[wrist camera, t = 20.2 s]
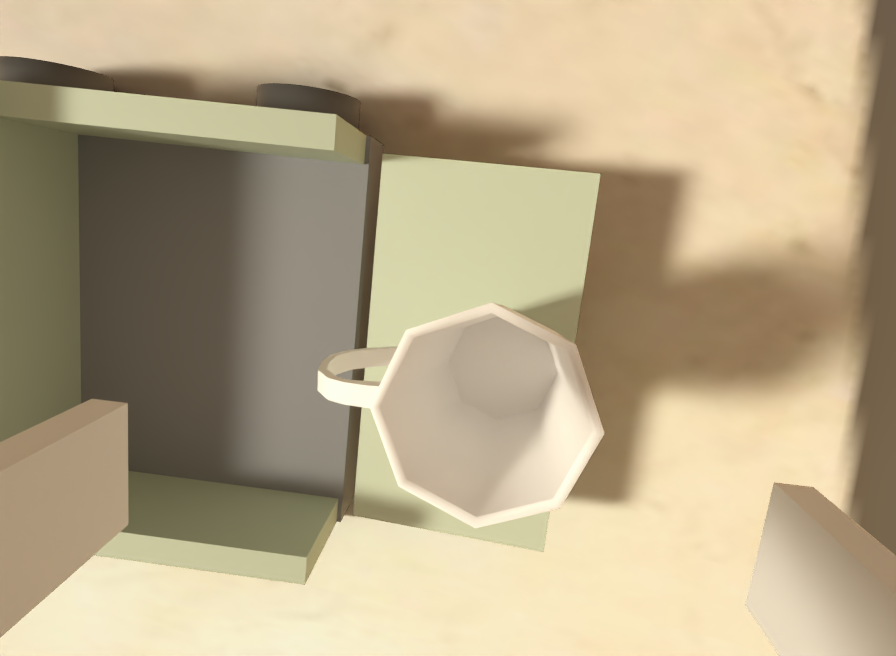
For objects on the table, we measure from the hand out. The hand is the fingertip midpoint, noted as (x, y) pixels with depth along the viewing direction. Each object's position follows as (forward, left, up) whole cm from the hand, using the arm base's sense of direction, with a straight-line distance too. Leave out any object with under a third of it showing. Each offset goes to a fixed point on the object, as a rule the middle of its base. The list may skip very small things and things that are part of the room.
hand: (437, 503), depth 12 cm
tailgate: (0, -4, -15) cm, 15 cm away
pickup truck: (0, -14, -18) cm, 23 cm away
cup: (0, 0, -14) cm, 14 cm away
